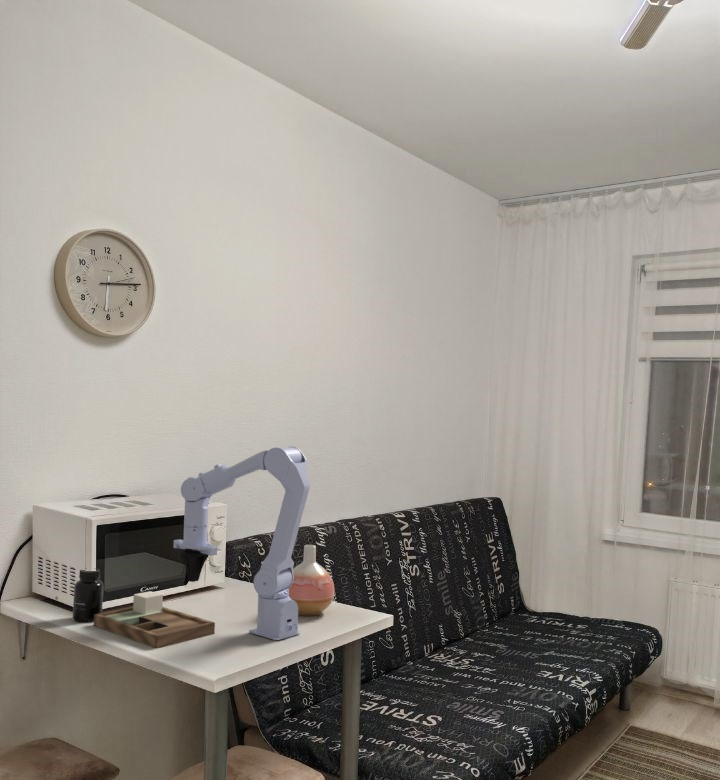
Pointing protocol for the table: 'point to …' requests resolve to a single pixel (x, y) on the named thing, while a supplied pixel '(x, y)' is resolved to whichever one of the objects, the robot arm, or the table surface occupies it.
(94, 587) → the supplement bottle
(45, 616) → the table surface
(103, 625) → the tray
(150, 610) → the cream block
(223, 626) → the table surface
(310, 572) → the vase
